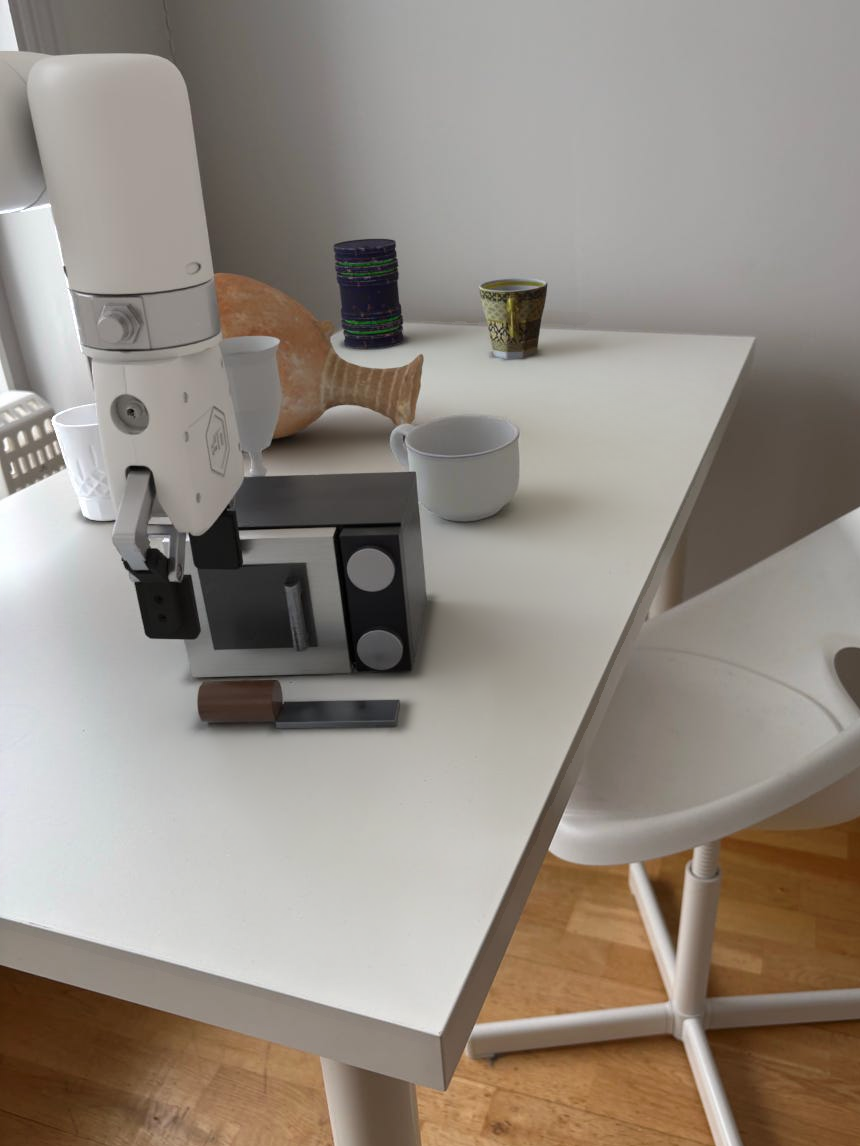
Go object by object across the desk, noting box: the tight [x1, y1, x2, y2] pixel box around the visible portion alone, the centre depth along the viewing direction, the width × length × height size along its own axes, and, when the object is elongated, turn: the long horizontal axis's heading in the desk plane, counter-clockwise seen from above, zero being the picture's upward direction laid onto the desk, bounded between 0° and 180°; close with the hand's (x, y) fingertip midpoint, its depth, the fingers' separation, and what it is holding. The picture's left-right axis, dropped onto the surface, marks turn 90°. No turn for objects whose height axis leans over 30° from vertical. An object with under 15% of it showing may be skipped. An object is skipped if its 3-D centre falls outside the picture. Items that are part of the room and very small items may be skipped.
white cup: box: [51, 403, 116, 522], centre depth 101 cm, size 8×8×10 cm
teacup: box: [389, 413, 520, 522], centre depth 98 cm, size 14×11×8 cm
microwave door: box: [161, 527, 355, 678], centre depth 70 cm, size 3×12×11 cm, turn 88°
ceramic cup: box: [478, 277, 548, 360], centre depth 148 cm, size 13×10×10 cm
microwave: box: [227, 471, 428, 673], centre depth 75 cm, size 12×16×11 cm
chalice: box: [219, 336, 282, 477], centre depth 90 cm, size 7×7×18 cm
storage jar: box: [333, 238, 405, 350], centre depth 160 cm, size 10×10×15 cm
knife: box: [196, 679, 401, 730], centre depth 67 cm, size 13×3×3 cm, turn 87°
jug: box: [213, 272, 425, 440], centre depth 118 cm, size 20×19×30 cm
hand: (197, 599), depth 63 cm, fingers open, 8 cm apart
